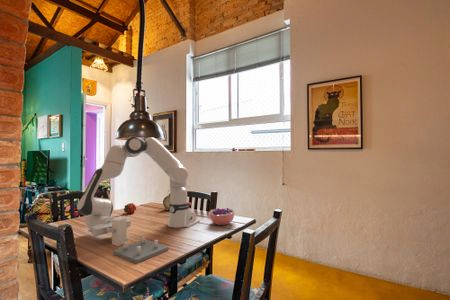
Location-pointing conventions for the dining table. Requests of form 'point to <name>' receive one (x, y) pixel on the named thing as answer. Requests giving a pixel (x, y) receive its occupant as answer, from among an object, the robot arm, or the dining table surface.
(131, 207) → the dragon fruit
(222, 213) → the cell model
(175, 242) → the dining table surface
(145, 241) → the peg cradle
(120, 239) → the cream post
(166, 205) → the alarm clock
